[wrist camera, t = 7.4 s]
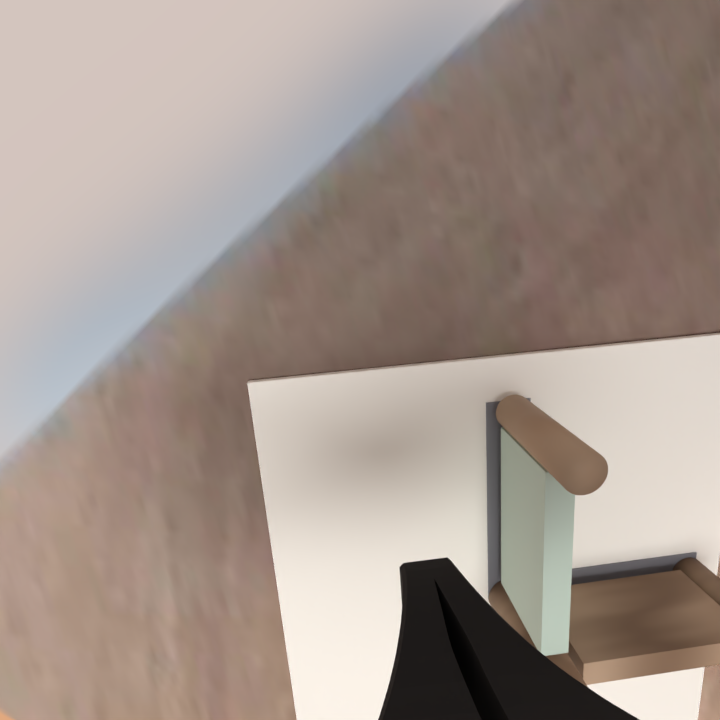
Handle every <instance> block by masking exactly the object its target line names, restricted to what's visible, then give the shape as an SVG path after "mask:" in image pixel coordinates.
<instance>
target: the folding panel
mask: <svg viewBox="0 0 720 720" xmlns="http://www.w3.org/2000/svg"><path fill="white" fill-rule="evenodd" d="M496 418H497V420H498V422H499V423H500V424H501V425H502V426H503V427H501V584H502V585H503V587H504V589H505V591H506V593H507V595H508V596H509V598H510V600H511V602H512V604H513V606H514V608H515V609H516V611H517V613H518V615H519V617H520V619H521V620H522V622H523V624H524V626H525V628H526V630H527V632H528V633H529V635H530V637H531V639H532V641H533V643H534V644H535V646H536V648H537V650H538V651H539V652H541V653H542V654H543V655H544V656H549V655H556V654H562V653H568V648H569V625H570V602H571V579H572V556H573V533H574V510H575V495H587V494H590V493H593V492H594V491H596V490H597V489H599V488H600V487H601V486H602V485H603V483H604V482H605V480H606V478H607V474H608V464H607V462H606V460H605V458H604V457H603V456H602V455H601V454H599V453H598V452H597V451H595V450H594V449H593V448H591V447H590V446H589V445H587V444H586V443H585V442H583V441H582V440H581V439H579V438H578V437H577V436H575V435H574V434H573V433H571V432H570V431H569V430H567V429H566V428H565V427H563V426H562V425H561V424H559V423H558V422H557V421H555V420H554V419H553V418H551V417H550V416H549V415H547V414H546V413H545V412H543V411H542V410H541V409H539V408H538V407H537V406H535V405H534V404H533V403H531V402H530V401H529V400H527V399H526V398H525V397H523V396H521V395H509V396H507V397H505V398H504V399H502V400H501V402H500V403H499V404H498V406H497V409H496Z"/></svg>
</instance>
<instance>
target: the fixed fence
mask: <svg viewBox="0 0 720 720" xmlns="http://www.w3.org/2000/svg"><path fill="white" fill-rule="evenodd" d="M488 600H489V603H490V605H491V607H492V608H493V609H494V610H495V611H496V612H497V613H498V614H499V615H500V616H501V617H502V618H503V619H504V620H505V621H506V622H507V623H508V624H509V625H510V626H511V627H513V628H514V629H515V630H516V631H517V632H518V633H519V634H520V635H521V636H522V637H523V638H524V639H526V640H527V641H528V642H529V643H530V644H531V645H532V646H534V647H535V648H536V646H535V644H534V643H533V641H532V639H531V637H530V635H529V633H528V632H527V630H526V628H525V626H524V624H523V622H522V620H521V619H520V617H519V615H518V613H517V611H516V609H515V608H514V606H513V604H512V602H511V600H510V598H509V596H508V595H507V593H506V591H505V589H504V587H503V585H502V584H501V581H499V582H498V583H496V584H495V585H494V586H493V587H492V589H491V590H490V593H489V598H488ZM536 649H537V648H536ZM546 657H547V658H548V659H549V660H551V661H552V662H553V663H554V664H556V665H557V666H558V667H560V668H561V669H562V670H564V671H565V672H566V673H568V674H569V675H570V676H572V677H573V678H575V679H576V680H578V681H579V682H581V683H582V684H584V685H585V686H587V685H590V684H597V683H603V682H610V681H616V680H623V679H629V678H636V677H642V676H649V675H655V674H662V673H668V672H675V671H681V670H688V669H694V668H701V667H707V666H714V665H720V578H719V577H718V576H716V575H715V574H714V573H713V572H712V571H710V570H709V569H708V568H707V567H706V566H704V565H703V564H702V563H701V562H700V561H698V560H697V559H695V558H692V557H689V558H684V559H682V560H680V561H679V562H678V563H677V564H676V565H675V566H674V568H673V570H672V571H669V572H661V573H654V574H647V575H640V576H632V577H625V578H618V579H611V580H603V581H596V582H589V583H582V584H574V585H571V602H570V625H569V648H568V653H562V654H556V655H549V656H546ZM587 687H588V686H587Z"/></svg>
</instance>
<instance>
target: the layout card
mask: <svg viewBox="0 0 720 720" xmlns="http://www.w3.org/2000/svg"><path fill="white" fill-rule="evenodd" d="M247 385H248V391H249V398H250V405H251V412H252V419H253V425H254V432H255V439H256V446H257V453H258V459H259V466H260V473H261V480H262V486H263V493H264V500H265V507H266V514H267V520H268V527H269V534H270V541H271V548H272V554H273V561H274V568H275V575H276V582H277V588H278V595H279V602H280V609H281V616H282V622H283V629H284V636H285V643H286V649H287V656H288V663H289V670H290V677H291V683H292V690H293V697H294V704H295V711H296V717H297V720H378V719H379V716H380V713H381V709H382V706H383V703H384V699H385V696H386V692H387V689H388V685H389V681H390V677H391V673H392V669H393V665H394V660H395V655H396V650H397V644H398V638H399V632H400V625H401V614H402V598H401V583H400V568H399V567H400V566H401V565H402V564H403V563H407V562H414V561H422V560H430V559H438V558H446V557H447V558H449V559H450V560H451V561H452V562H453V563H454V565H455V566H456V567H457V568H458V570H459V571H460V572H461V573H462V575H463V576H464V577H465V578H466V579H467V580H468V582H469V583H470V584H471V585H472V586H473V587H474V588H475V590H476V591H477V592H478V593H479V594H480V595H481V596H482V597H483V598H484V599H485V600H486V601H487V602H488V603H489V600H488V598H489V593H490V590H491V589H492V587H493V586H494V585H495V584H496V583H498V582H499V581H501V427H503V426H502V425H501V424H500V423H499V422H498V420H497V418H496V409H497V406H498V404H499V403H500V402H501V400H502V399H504V398H505V397H507V396H509V395H521V396H523V397H525V398H526V399H527V400H529V401H530V402H531V403H533V404H534V405H535V406H537V407H538V408H539V409H541V410H542V411H543V412H545V413H546V414H547V415H549V416H550V417H551V418H553V419H554V420H555V421H557V422H558V423H559V424H561V425H562V426H563V427H565V428H566V429H567V430H569V431H570V432H571V433H573V434H574V435H575V436H577V437H578V438H579V439H581V440H582V441H583V442H585V443H586V444H587V445H589V446H590V447H591V448H593V449H594V450H595V451H597V452H598V453H599V454H601V455H602V456H603V457H604V458H605V460H606V462H607V464H608V474H607V478H606V480H605V482H604V483H603V485H602V486H601V487H600V488H599V489H597V490H596V491H594V492H593V493H590V494H587V495H575V510H574V533H573V556H572V579H571V585H574V584H582V583H589V582H596V581H603V580H611V579H618V578H625V577H632V576H640V575H647V574H654V573H661V572H669V571H672V570H673V568H674V566H675V565H676V564H677V563H678V562H679V561H680V560H682V559H684V558H689V557H692V558H695V559H697V560H698V561H700V562H701V563H702V564H703V565H704V566H706V567H707V568H708V569H709V570H710V571H712V572H713V573H714V574H715V575H716V576H717V571H718V564H719V556H720V333H712V334H702V335H692V336H682V337H672V338H662V339H653V340H643V341H633V342H623V343H613V344H604V345H594V346H584V347H574V348H564V349H554V350H545V351H535V352H525V353H515V354H505V355H495V356H486V357H476V358H466V359H456V360H446V361H437V362H427V363H417V364H407V365H397V366H387V367H378V368H368V369H358V370H348V371H338V372H328V373H319V374H309V375H299V376H289V377H279V378H270V379H260V380H250V381H248V382H247ZM489 605H490V603H489ZM490 606H491V605H490ZM704 668H705V667H701V668H694V669H688V670H681V671H675V672H668V673H662V674H655V675H649V676H642V677H636V678H629V679H623V680H616V681H610V682H603V683H597V684H590V685H587V686H588V688H589V689H591V690H592V691H594V692H595V693H597V694H598V695H600V696H601V697H603V698H604V699H606V700H608V701H609V702H611V703H612V704H614V705H616V706H617V707H619V708H621V709H622V710H624V711H626V712H628V713H629V714H631V715H633V716H634V717H636V718H638V719H639V720H698V713H699V706H700V698H701V691H702V683H703V676H704Z"/></svg>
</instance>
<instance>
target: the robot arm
mask: <svg viewBox="0 0 720 720" xmlns="http://www.w3.org/2000/svg"><path fill="white" fill-rule="evenodd" d="M399 568H400V583H401V598H402V614H401V625H400V632H399V638H398V644H397V650H396V655H395V660H394V665H393V669H392V673H391V677H390V681H389V685H388V689H387V692H386V696H385V699H384V703H383V706H382V709H381V713H380V716H379V719H378V720H639V719H638V718H636V717H634V716H633V715H631V714H629V713H628V712H626V711H624V710H622V709H621V708H619V707H617V706H616V705H614V704H612V703H611V702H609V701H608V700H606V699H604V698H603V697H601V696H600V695H598V694H597V693H595V692H594V691H592V690H591V689H589V688H588V687H587V686H585V685H584V684H582V683H581V682H579V681H578V680H576V679H575V678H573V677H572V676H570V675H569V674H568V673H566V672H565V671H564V670H562V669H561V668H560V667H558V666H557V665H556V664H554V663H553V662H552V661H551V660H549V659H548V658H547V657H546V656H544V655H543V654H542V653H541V652H539V651H538V650H537V649H536V648H535V647H534V646H532V645H531V644H530V643H529V642H528V641H527V640H526V639H524V638H523V637H522V636H521V635H520V634H519V633H518V632H517V631H516V630H515V629H514V628H513V627H511V626H510V625H509V624H508V623H507V622H506V621H505V620H504V619H503V618H502V617H501V616H500V615H499V614H498V613H497V612H496V611H495V610H494V609H493V608H492V607H491V606H490V605H489V603H488V602H487V601H486V600H485V599H484V598H483V597H482V596H481V595H480V594H479V593H478V592H477V591H476V590H475V588H474V587H473V586H472V585H471V584H470V583H469V582H468V580H467V579H466V578H465V577H464V576H463V575H462V573H461V572H460V571H459V570H458V568H457V567H456V566H455V565H454V563H453V562H452V561H451V560H450V559H449V558H447V557H446V558H438V559H430V560H422V561H414V562H407V563H403V564H402V565H401V566H400V567H399Z"/></svg>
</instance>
